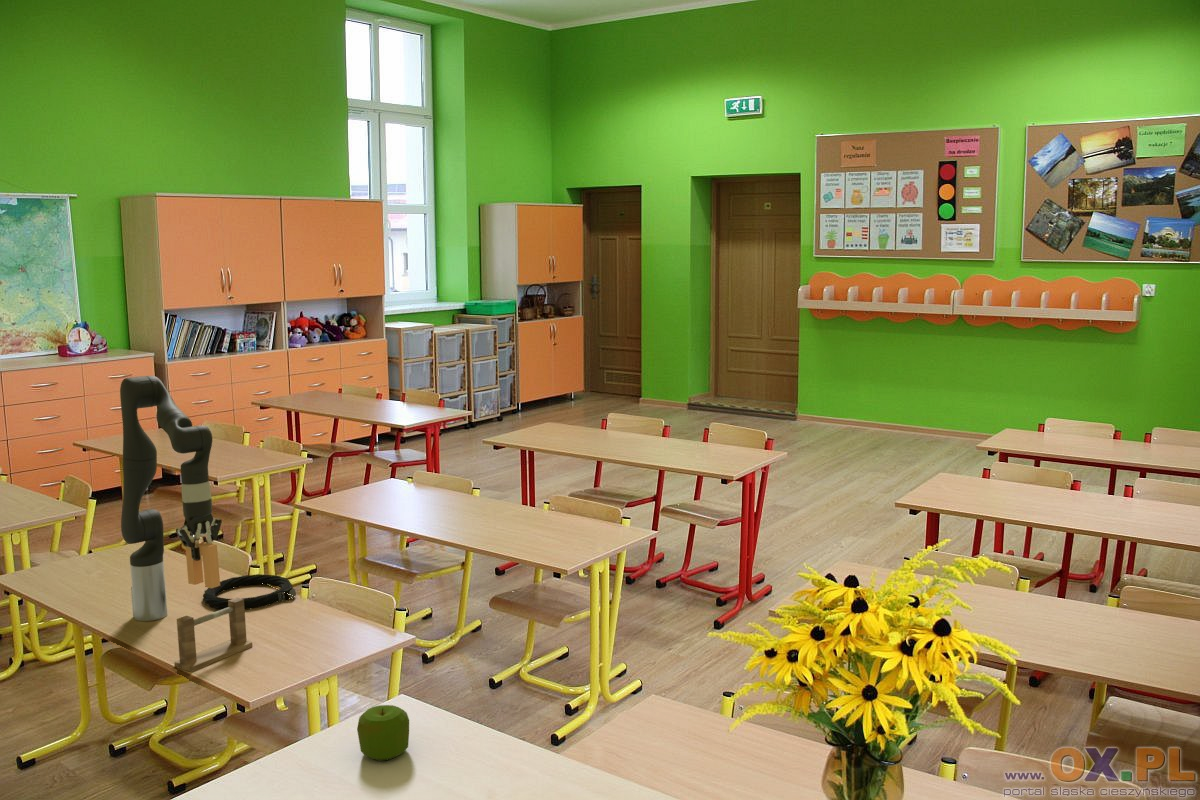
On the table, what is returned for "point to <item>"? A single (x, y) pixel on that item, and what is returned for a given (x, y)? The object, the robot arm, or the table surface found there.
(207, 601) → the cable lock
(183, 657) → the rail
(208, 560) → the orange block
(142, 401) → the robot arm
